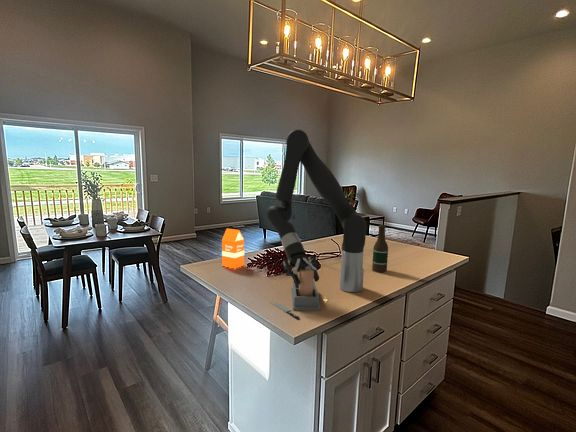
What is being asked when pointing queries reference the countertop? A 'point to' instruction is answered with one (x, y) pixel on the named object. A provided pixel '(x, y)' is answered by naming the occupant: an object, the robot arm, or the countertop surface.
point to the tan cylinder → (306, 282)
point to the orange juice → (232, 249)
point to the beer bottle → (380, 252)
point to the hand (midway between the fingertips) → (308, 282)
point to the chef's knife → (285, 310)
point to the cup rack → (305, 299)
